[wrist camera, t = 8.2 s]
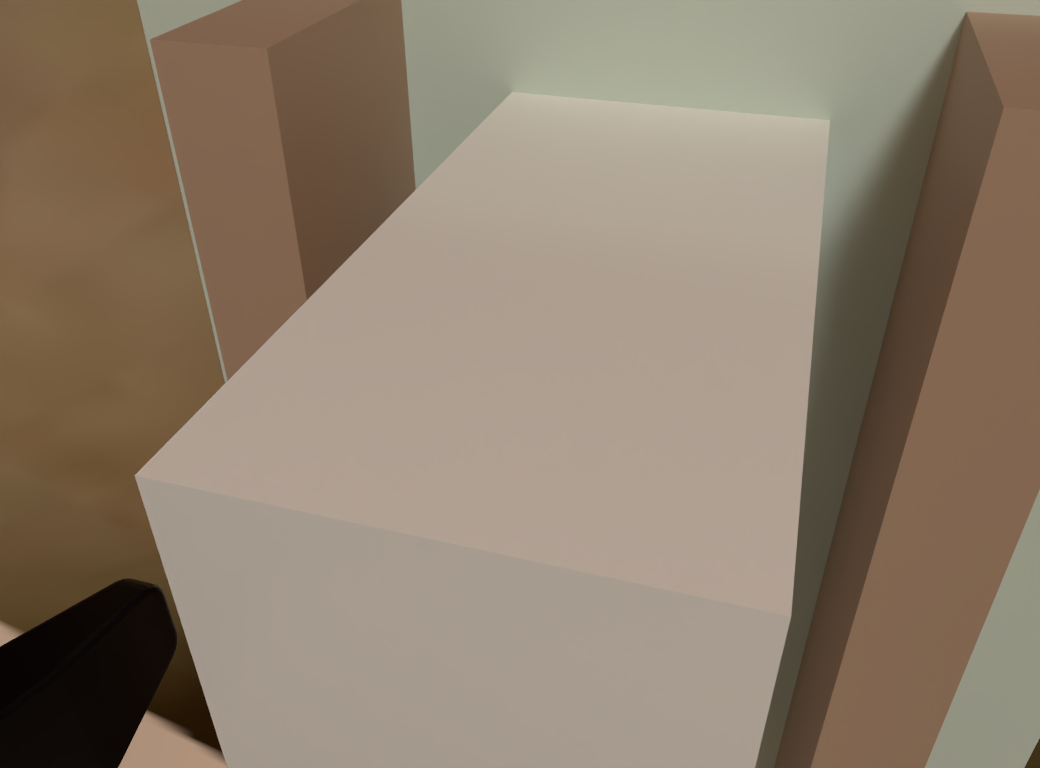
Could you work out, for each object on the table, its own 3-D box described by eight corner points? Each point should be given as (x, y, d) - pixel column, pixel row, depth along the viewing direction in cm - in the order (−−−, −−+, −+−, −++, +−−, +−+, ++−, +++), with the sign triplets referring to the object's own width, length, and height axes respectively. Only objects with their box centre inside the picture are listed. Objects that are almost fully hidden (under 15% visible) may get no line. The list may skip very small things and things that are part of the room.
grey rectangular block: (829, 121, 8) (792, 616, 4) (707, 768, 14) (630, 1289, 9) (511, 92, 9) (134, 475, 4) (518, 719, 15) (358, 1178, 10)
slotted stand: (1377, -60, 7) (1689, 59, 5) (953, 833, 15) (975, 1083, 12) (174, -105, 10) (-85, -45, 7) (327, 671, 17) (227, 847, 15)
